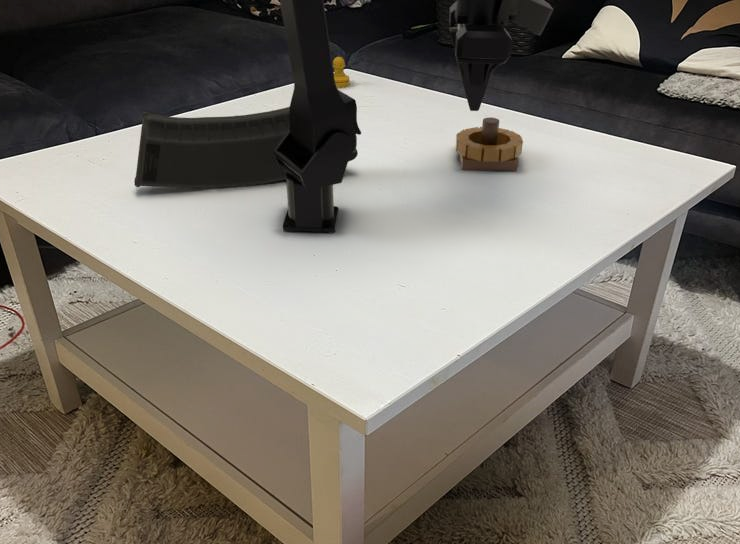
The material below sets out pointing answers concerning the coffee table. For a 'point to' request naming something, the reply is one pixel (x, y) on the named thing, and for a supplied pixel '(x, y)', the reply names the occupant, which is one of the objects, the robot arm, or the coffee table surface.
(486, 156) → the ring
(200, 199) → the coffee table surface
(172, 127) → the magazine
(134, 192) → the coffee table surface
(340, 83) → the chess piece
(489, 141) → the post
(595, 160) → the coffee table surface
